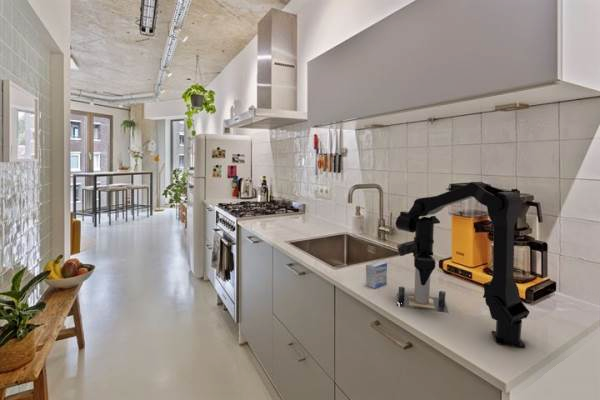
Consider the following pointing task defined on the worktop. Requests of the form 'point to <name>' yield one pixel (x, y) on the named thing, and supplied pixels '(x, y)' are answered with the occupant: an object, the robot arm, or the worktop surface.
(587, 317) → the worktop surface
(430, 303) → the post gate
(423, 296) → the beverage can
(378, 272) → the medicine box
